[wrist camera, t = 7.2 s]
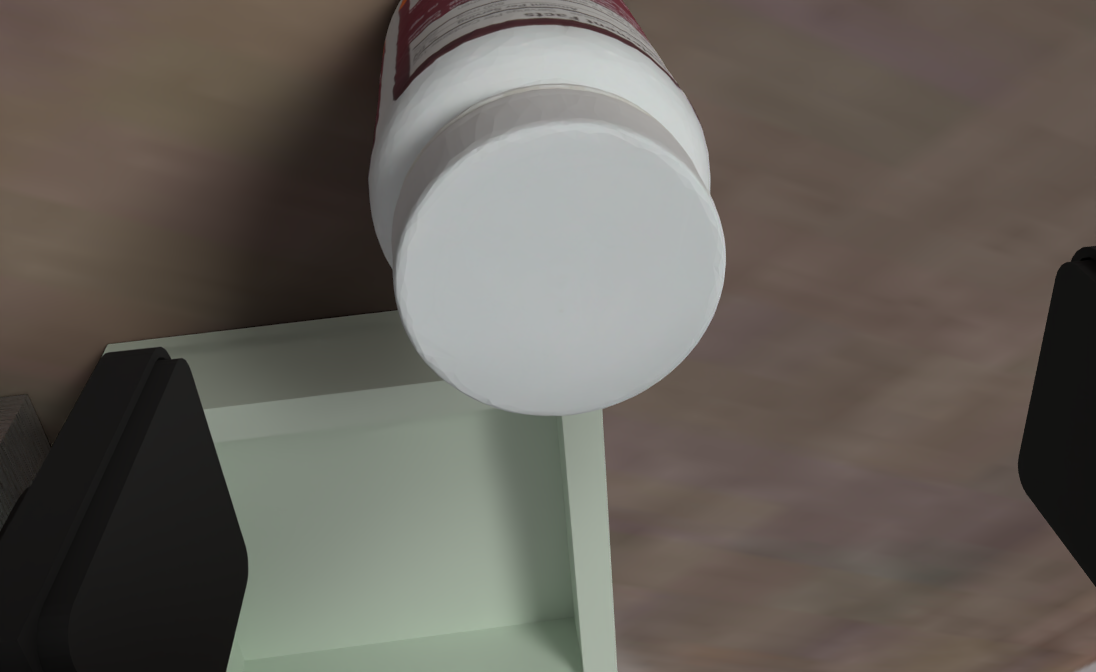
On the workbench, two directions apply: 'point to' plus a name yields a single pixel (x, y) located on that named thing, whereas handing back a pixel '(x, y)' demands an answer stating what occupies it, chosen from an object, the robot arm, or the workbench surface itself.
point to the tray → (400, 508)
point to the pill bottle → (542, 201)
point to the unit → (19, 450)
